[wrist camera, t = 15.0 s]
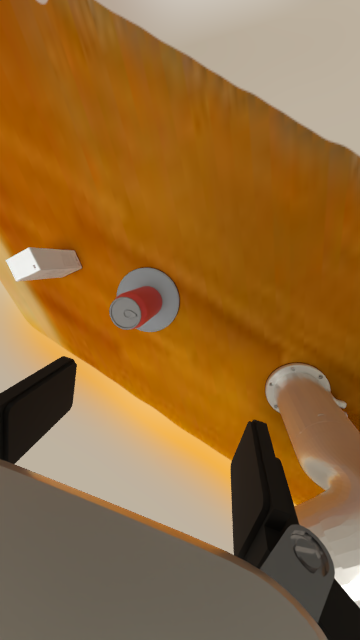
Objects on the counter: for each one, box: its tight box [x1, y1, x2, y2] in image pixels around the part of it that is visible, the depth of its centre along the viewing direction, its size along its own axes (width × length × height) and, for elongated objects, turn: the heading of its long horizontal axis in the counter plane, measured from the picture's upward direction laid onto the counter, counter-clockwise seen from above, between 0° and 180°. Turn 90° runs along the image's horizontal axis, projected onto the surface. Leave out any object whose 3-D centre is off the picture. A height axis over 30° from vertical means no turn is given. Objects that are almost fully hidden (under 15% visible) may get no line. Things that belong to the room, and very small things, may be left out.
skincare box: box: [6, 247, 82, 281], centre depth 44 cm, size 6×4×12 cm
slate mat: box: [117, 268, 180, 332], centre depth 48 cm, size 14×14×1 cm
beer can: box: [109, 286, 162, 330], centre depth 41 cm, size 7×7×12 cm
